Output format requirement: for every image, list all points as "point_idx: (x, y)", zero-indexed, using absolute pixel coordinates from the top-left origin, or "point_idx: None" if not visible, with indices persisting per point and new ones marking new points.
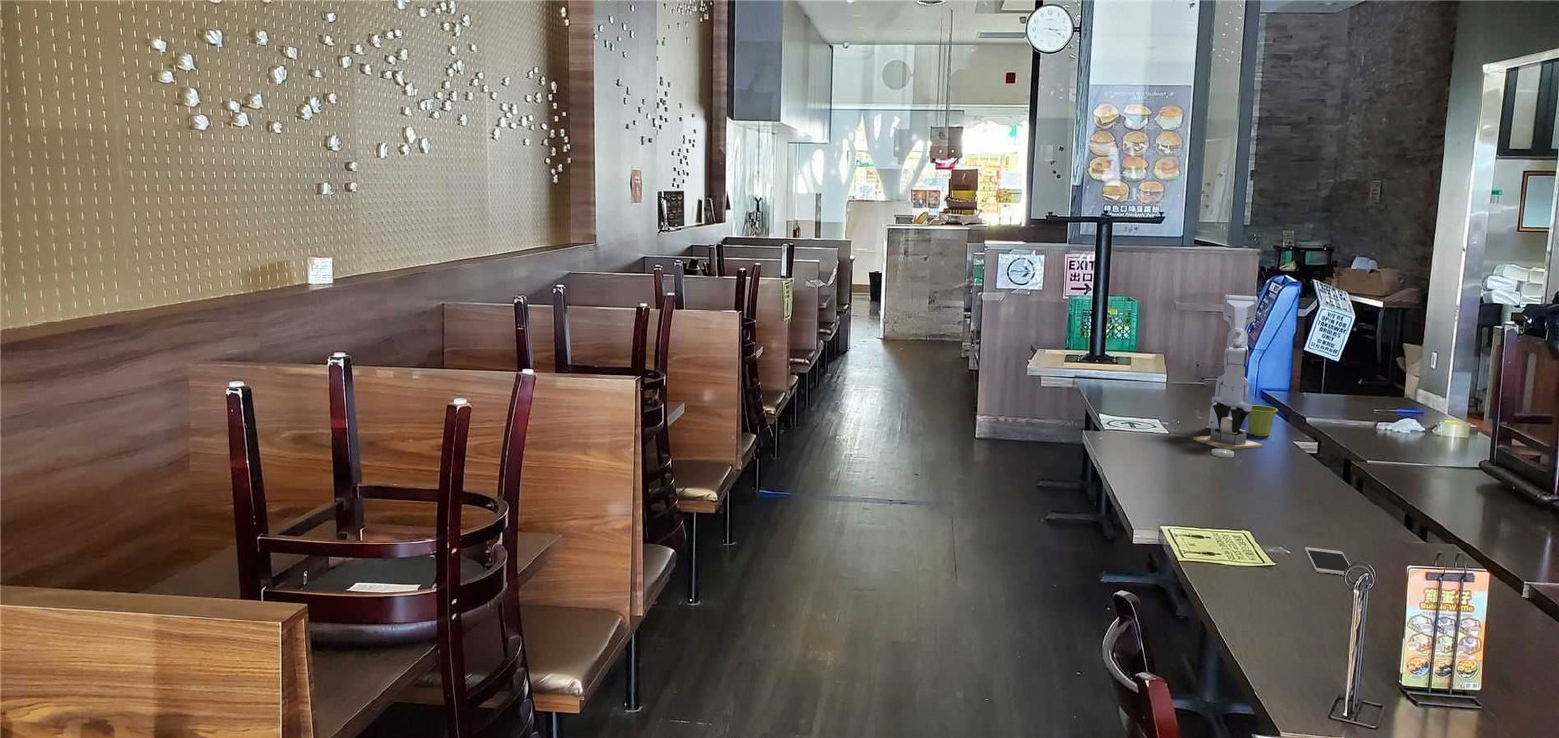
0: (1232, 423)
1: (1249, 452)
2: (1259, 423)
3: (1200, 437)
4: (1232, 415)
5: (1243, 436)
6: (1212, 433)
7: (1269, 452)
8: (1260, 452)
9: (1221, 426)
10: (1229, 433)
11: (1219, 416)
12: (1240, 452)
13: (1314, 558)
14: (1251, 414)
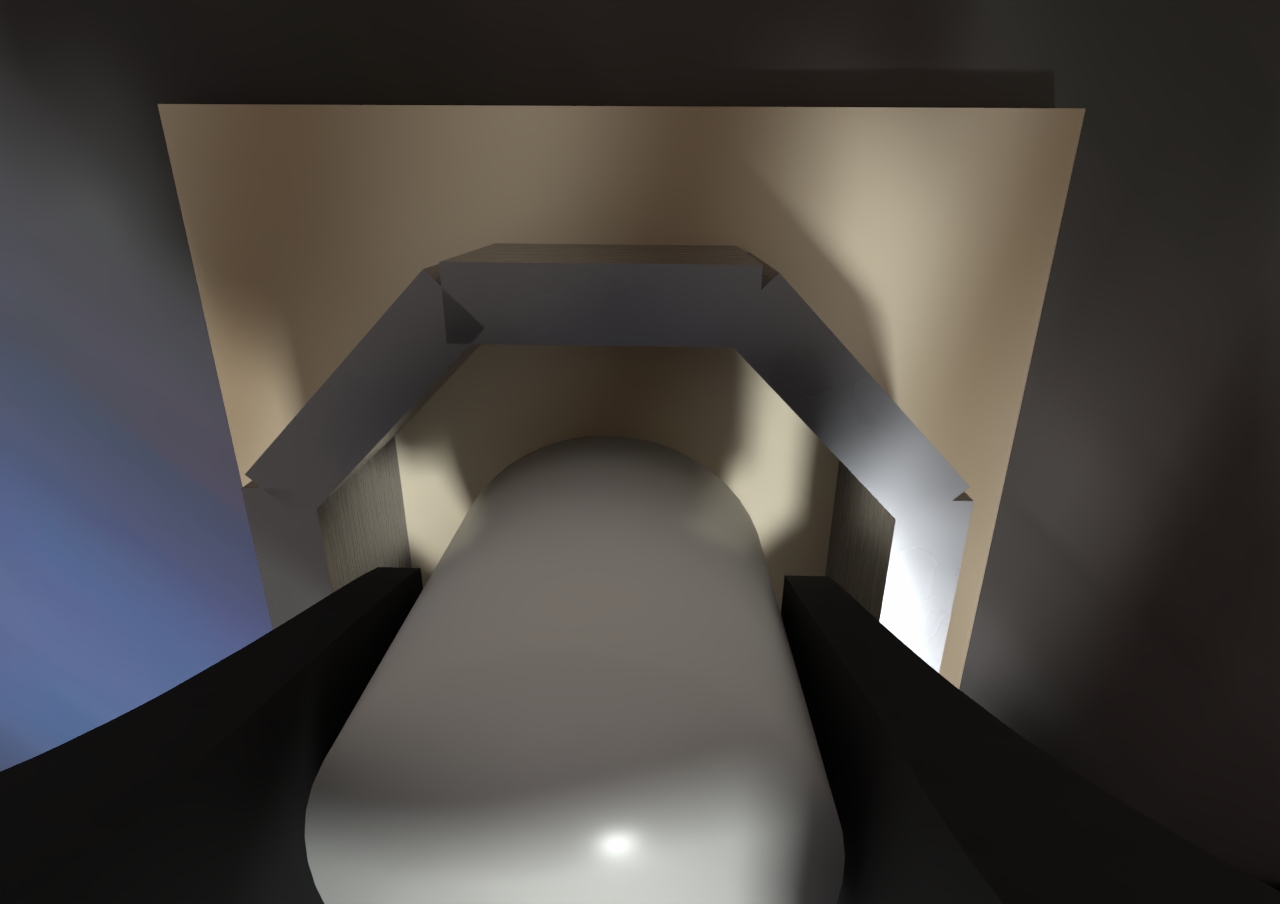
0: (296, 664)
1: (33, 386)
2: None
3: (988, 231)
4: (8, 864)
5: None
6: (706, 260)
7: (55, 650)
8: (46, 542)
9: (663, 524)
10: (470, 516)
11: (896, 753)
12: (20, 235)
13: None
14: None
